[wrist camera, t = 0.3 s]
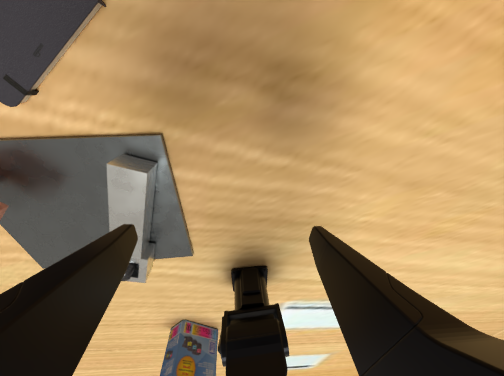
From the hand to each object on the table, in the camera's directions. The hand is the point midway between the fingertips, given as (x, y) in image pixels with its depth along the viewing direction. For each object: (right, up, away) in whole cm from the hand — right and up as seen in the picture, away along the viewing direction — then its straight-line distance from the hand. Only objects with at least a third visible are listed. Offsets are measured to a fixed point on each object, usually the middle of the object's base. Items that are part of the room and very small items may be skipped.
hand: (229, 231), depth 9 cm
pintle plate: (-19, -1, +14) cm, 24 cm away
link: (-14, -2, +14) cm, 20 cm away
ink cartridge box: (-12, -31, +33) cm, 47 cm away
